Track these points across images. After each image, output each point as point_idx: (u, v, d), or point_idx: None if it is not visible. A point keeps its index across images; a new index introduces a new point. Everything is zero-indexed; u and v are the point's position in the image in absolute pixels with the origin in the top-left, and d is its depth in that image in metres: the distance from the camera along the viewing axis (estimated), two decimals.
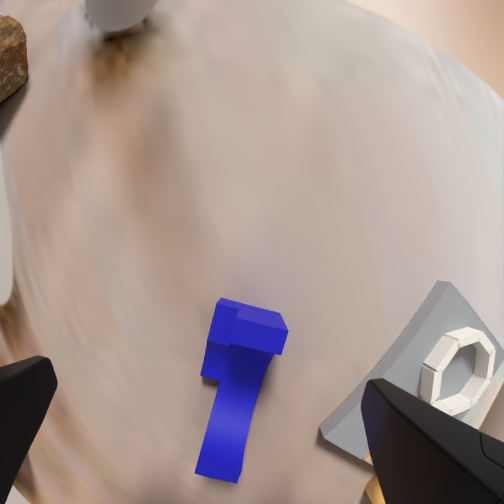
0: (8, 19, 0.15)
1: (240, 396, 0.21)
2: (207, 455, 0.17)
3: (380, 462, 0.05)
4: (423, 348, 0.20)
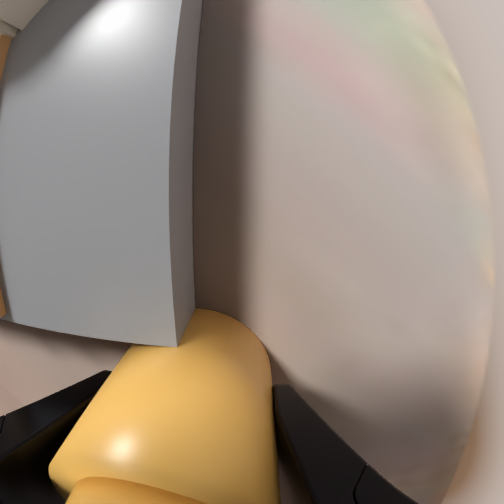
0: None
1: None
2: None
3: None
4: None
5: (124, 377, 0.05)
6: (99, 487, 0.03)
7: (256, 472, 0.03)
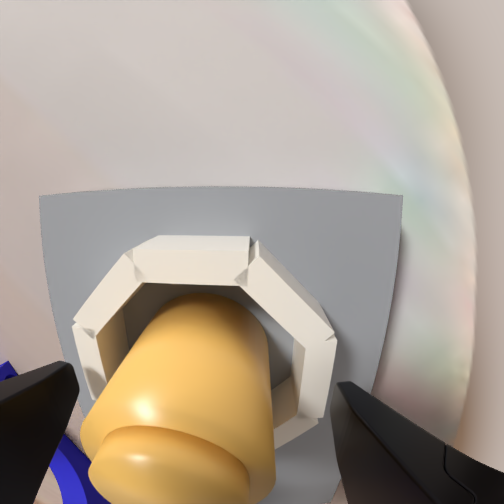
0: None
1: (56, 458, 0.12)
2: None
3: (345, 468, 0.05)
4: None
5: (146, 347, 0.06)
6: (128, 433, 0.04)
7: (254, 420, 0.05)
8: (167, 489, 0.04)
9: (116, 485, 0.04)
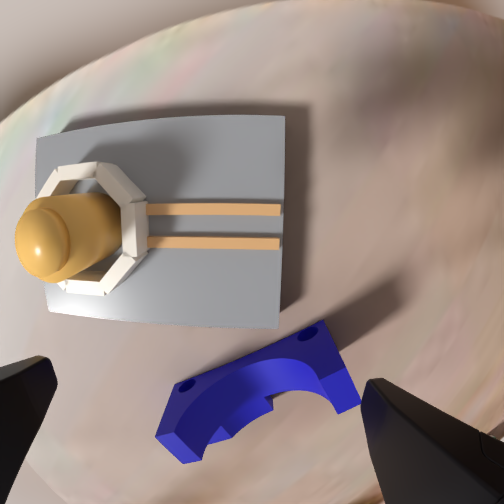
0: None
1: (262, 376, 0.19)
2: None
3: (380, 462, 0.05)
4: (108, 298, 0.17)
5: None
6: None
7: None
8: (26, 240, 0.10)
9: (32, 263, 0.11)
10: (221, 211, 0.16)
